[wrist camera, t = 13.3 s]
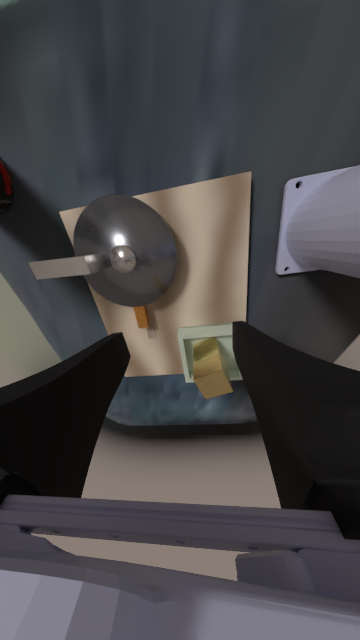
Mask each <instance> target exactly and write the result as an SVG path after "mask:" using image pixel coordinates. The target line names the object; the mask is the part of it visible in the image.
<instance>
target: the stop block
mask: <svg viewBox="0 0 360 640" xmlns="http://www.w3.org/2000/svg"><path fill="white" fill-rule="evenodd" d="M193 380H194V382H195V383H196V385H197V386H198V388H199V390H200V391H201V393H202V394H203V396H204V397H205V399H208V398H212V397H215V396H219V395H223V394H226V393H230V392H233V388H232V384H231V380H230V376H229V373H228V369H227V365H226V361H225V358H224V354H223V352H222V350H221V348H220V346H219V343H218V341H217V339H216V337H215V336H214V337H211V338H208V339H206V340H203V341H201V342H198V343H195V344H193Z"/></svg>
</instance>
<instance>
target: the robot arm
mask: <svg viewBox="0 0 360 640" xmlns="http://www.w3.org/2000/svg"><path fill="white" fill-rule="evenodd" d="M297 182H299V184H300V186H299V188H298V189H297V188H296V183H297ZM286 267H288V269H287V270H286V271H284V269H285V268H286ZM314 270H327V271H331V272H335V273H339V274H344V275H348V276H352V277H356V278H360V165H358V166H354V167H349V168H344V169H339V170H334V171H329V172H324V173H319V174H314V175H309V176H304V177H299V178H294V179H291V180H289V181H288V182H287V183H286V185H285V187H284V195H283V204H282V213H281V222H280V232H279V241H278V250H277V259H276V268H275V272H276V273H277V274H279V275H283V274H290V273H298V272H306V271H314ZM232 349H233V353H234V357H235V360H236V364H237V366H238V368H239V371H240V373H241V376H242V378H243V381H244V383H245V385H246V388H247V390H248V393H249V395H250V398H251V400H252V403H253V406H254V410H255V413H256V416H257V420H258V423H259V426H260V430H261V433H262V437H263V440H264V444H265V447H266V451H267V455H268V459H269V462H270V466H271V470H272V473H273V477H274V481H275V485H276V489H277V493H278V497H279V501H280V505H281V509H277V508H258V507H239V506H220V505H200V504H182V503H163V502H143V501H125V500H123V501H122V500H106V499H86V498H81V495H82V491H83V487H84V484H85V480H86V476H87V472H88V468H89V465H90V461H91V458H92V455H93V452H94V448H95V445H96V441H97V439H98V436H99V433H100V430H101V427H102V424H103V421H104V419H105V416H106V413H107V410H108V408H109V405H110V403H111V401H112V399H113V397H114V395H115V393H116V391H117V389H118V387H119V385H120V383H121V380H122V378H123V376H124V374H125V372H126V370H127V367H128V364H129V361H130V357H131V355H130V352H129V350H128V347H127V344H126V341H125V338H124V336H123V333H122V332H118V333H113V334H110V335H108V336H106V337H105V338H103V339H101V340H99V341H98V342H96V343H94V344H93V345H91V346H89V347H88V348H86V349H84V350H82V351H81V352H79V353H77V354H75V355H73V356H72V357H70V358H68V359H66V360H64V361H62V362H60V363H58V364H56V365H54V366H52V367H50V368H48V369H46V370H44V371H41V372H39V373H37V374H34V375H32V376H30V377H27V378H25V379H23V380H20V381H17V382H15V383H12V384H9V385H7V386H4V387H1V388H0V640H360V371H357V370H353V369H350V368H346V367H343V366H340V365H337V364H333V363H330V362H327V361H325V360H322V359H319V358H316V357H313V356H311V355H308V354H305V353H303V352H301V351H298V350H296V349H294V348H291V347H289V346H287V345H285V344H283V343H281V342H279V341H277V340H275V339H273V338H271V337H269V336H267V335H266V334H264V333H262V332H261V331H259V330H257V329H256V328H254V327H252V326H251V325H249V324H248V323H246V322H244V321H235V322H232ZM31 533H35V534H47V535H58V536H70V537H81V538H92V539H103V540H115V541H126V542H137V543H149V544H160V545H172V546H183V547H194V548H205V549H217V550H228V551H240V552H251V553H245V554H238V555H237V557H236V559H235V561H236V569H237V579H238V581H234V580H228V579H222V578H216V577H211V576H205V575H199V574H194V573H188V572H182V571H176V570H171V569H165V568H159V567H153V566H147V565H140V564H134V563H128V562H122V561H115V560H107V559H100V558H92V557H85V556H76V555H74V554H71V553H69V552H66V551H64V550H62V549H60V548H58V547H57V546H55V545H53V544H52V543H50V542H49V541H48V540H47V539H46V538H42V537H38V536H33V535H31Z"/></svg>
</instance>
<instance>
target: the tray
mask: <svg viewBox="0 0 360 640" xmlns="http://www.w3.org/2000/svg"><path fill="white" fill-rule="evenodd" d="M214 336H215V337H216V339H217V341H218V343H219V346H220V348H221V350H222V352H223V354H224V358H225V361H226V365H227V369H228V373H229V376H230V380H243V378H242V376H241V373H240V371H239V368H238V366H237V364H236V360H235V357H234V353H233V349H232V323H224V324H214V325H203V326H192V327H181V328H178V334H177V337H178V342H179V348H180V353H181V359H182V364H183V370H184V375H185V381H186V383H188V382H194V380H193V344H195V343H198V342H201V341H203V340H206V339H208V338H211V337H214Z"/></svg>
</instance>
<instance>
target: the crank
mask: <svg viewBox="0 0 360 640" xmlns="http://www.w3.org/2000/svg"><path fill="white" fill-rule="evenodd" d="M73 247H74V254H75V257H66V258H57V259H50V260H43V261H36V262H29V265H30V267H31V269H32V271H33V273H34V275H35V277H36V279H47V278H57V277H67V276H77V275H83V277H84V278H85V280H86V281H87V282H88V284H89V285H90V286H91V287H92V288H93V289H94V290H95V291H96V292H97V293H98V294H100V295H101V296H102V297H104V298H105V299H107V300H109V301H111V302H113V303H115V304H118V305H122V306H127V307H133V308H134V312H135V316H136V320H137V324H138V328H148V327H149V325H150V321H149V316H148V311H147V307H146V305H148V304H150V303H152V302H154V301H156V300H157V299H159V298H160V297H161V296H162V295H163V294H164V293H165V292H166V291H167V289H168V288H169V287H170V285H171V283H172V281H173V279H174V276H175V273H176V270H177V264H178V251H177V245H176V242H175V238H174V236H173V233H172V231H171V229H170V228H169V226H168V224H167V223H166V221H165V220H164V219H163V218H162V217H161V215H160V214H159V213H158V212H156V211H155V210H154V209H153V208H151V207H150V206H149V205H147V204H146V203H144V202H142V201H141V200H139V199H136V198H134V197H131V196H127V195H121V194H112V195H106V196H102V197H100V198H98V199H95V200H94V201H93V202H91V203H90V204H89V205H88V206H87V207H86V208H85V209H84V210H83V211H82V213H81V214H80V216H79V218H78V220H77V222H76V225H75V229H74V235H73Z"/></svg>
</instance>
